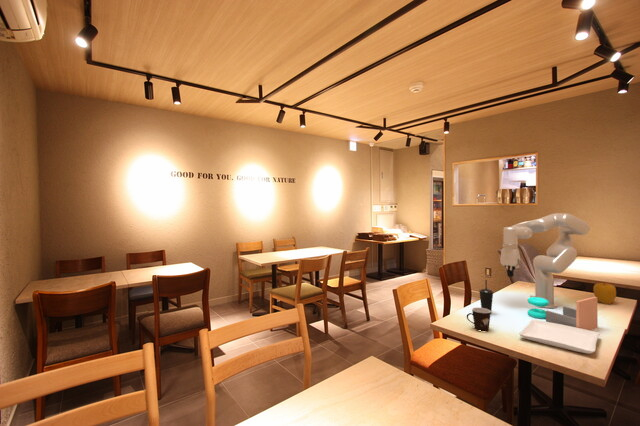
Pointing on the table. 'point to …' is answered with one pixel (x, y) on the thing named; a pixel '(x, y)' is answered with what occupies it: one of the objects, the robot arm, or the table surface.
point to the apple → (604, 292)
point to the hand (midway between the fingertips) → (510, 276)
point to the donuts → (541, 303)
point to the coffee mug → (481, 318)
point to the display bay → (577, 315)
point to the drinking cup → (486, 297)
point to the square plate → (561, 336)
